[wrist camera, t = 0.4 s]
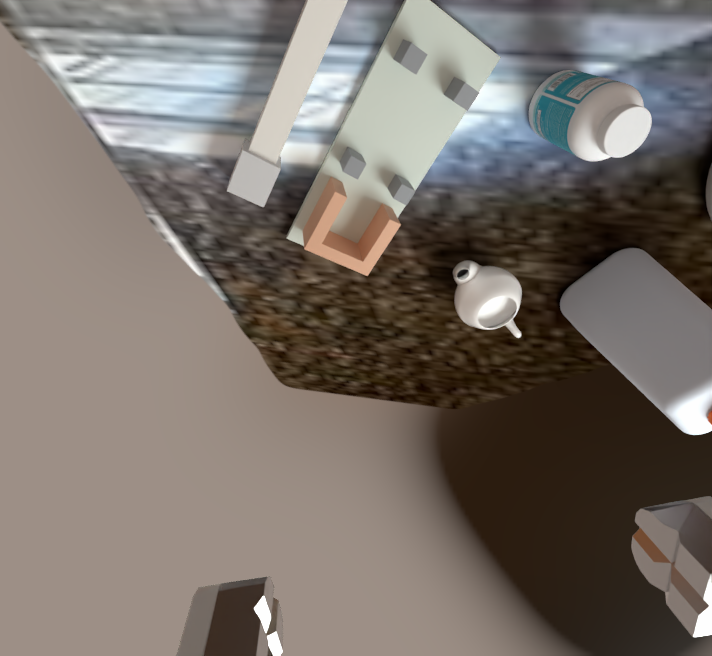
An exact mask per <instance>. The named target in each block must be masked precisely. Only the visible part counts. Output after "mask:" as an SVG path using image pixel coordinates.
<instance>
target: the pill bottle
mask: <svg viewBox="0 0 712 656" xmlns="http://www.w3.org/2000/svg"><path fill="white" fill-rule="evenodd" d="M651 121H652V119H651V115H650V112H649V111H648V110H647V109H646V108H644V105H643V100H642V97H641V95H640V93H639V92H638V91H637V90H636V89H635V88H634V87H633V86H631V85H628V84H625V83H622V82H618V81H614V80H610V79H607V78H602V77H599V76H595V75H591V74H587V73H583V72H579V71H574V70H564V71H560V72H557V73H555V74H553V75H552V76H550V77H549V78H547V79H546V80H545V81H544V82H543V83H542V84H541V85H540V86H539V88H538V89H537V91H536V92H535V94H534V96H533V98H532V100H531V103H530V107H529V122H530V125H531V127H532V129H533V131H534V132H535V133H536V134H537V135H539V136H540V137H542V138H544V139H545V140H547V141H549V142H551V143H553V144H555V145H557V146H559V147H560V148H562V149H564V150H566V151H568V152H570V153H572V154H573V155H575V156H577V157H579V158H581V159H583V160H587V161H600V160H604V159H607V158H610V157H616V158H618V157H624V156H626V155H629V154H630V153H632V152H634V151H635V150H636V149H637V148H638V147H639V146H640V145H641V144H642V143H643V142H644V140H645V139H646V137H647V135H648V133H649V131H650V128H651Z"/></svg>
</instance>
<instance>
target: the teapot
mask: <svg viewBox="0 0 712 656" xmlns="http://www.w3.org/2000/svg"><path fill="white" fill-rule="evenodd" d="M453 278H454V280H455V282H456V283H457V284H458V285H457V288H456V291H455V297H454V302H455V308H456V311H457V313H458V315H459V317H460V318H461V319H462V321H463V322H465V323H466V324H468V325H470V326H472V327H476V328H480V329H486V330H491V329H497V328H500V327H502V326H504V325H505V326H506V327H507V328H508V329H509V330H510V331H511V332H512V334H513V335H514V336H515V337H517V338H520V337H521V331H519V330H518V328H517V327H516V325H515V323H514V321H513V318H514V317H515V315H516V314H517V312H518V310H519V307H520V303H521V297H522V289H521V286H520V283H519V282H518V280H517V279H516V277H515V276H514V275H513V274H511V273H510V272H509V271H507V270H505V269H503V268H500V267H496V266H481V265H479V264H478V263H476V262H474V261H471V260H465V261H462V262H460V263H458V264H457V265H456V266H455V268H454V269H453Z"/></svg>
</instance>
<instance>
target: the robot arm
mask: <svg viewBox="0 0 712 656" xmlns="http://www.w3.org/2000/svg"><path fill="white" fill-rule="evenodd" d="M635 522H636V523H637V524H638V526H639V527H640V529H639V530H638V531H637V532H636V533H635V534H634V535H633V536H632V546H631V548H632V552H633V555H634V558H635V561H636V563H637V565H638V566H639V568H640V570H641V572H642V573H643V575H644V576H645V577H646V578H647V580H648V581H649V582H650V583H651V584H652V585H654V586H656V587H658V588H659V589H661V590H663V591H664V592H665V594H666V604H667V605H668V607H669V608H670V609H671V610H672V612H673V613H674V614H675V615H676V617H677V618H678V619H679V620H680V622H681V623H682V624H683V625H684V627H685V628H686V629H687V630H688V632H689V633H690V634H691V635H692V637H699V636H705V635H712V497H710V496H708V497H701V498H696V499H691V500H686V501H677V502H672V503H667V504H662V505H657V506H652V507H646V508H641V509H640V510H639V511H638V512H637V513H636V518H635ZM273 593H274V585H273V582H272V580H271V577H270V576H269V577H263V578H256V579H249V580H243V581H236V582H229V583H222V584H217V585H211V586H205V587H199V588H198V590H197V591H196V593H195V594H194V596H193V599H192V602H191V606H190V610H189V613H188V616H187V620H186V623H185V627H184V631H183V634H182V638H181V641H180V645H179V648H178V652H177V655H176V656H280V654H281V653H282V648H283V619H282V613H281V607H280V604H279V601H278V600H277V599H275V598H273Z"/></svg>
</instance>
